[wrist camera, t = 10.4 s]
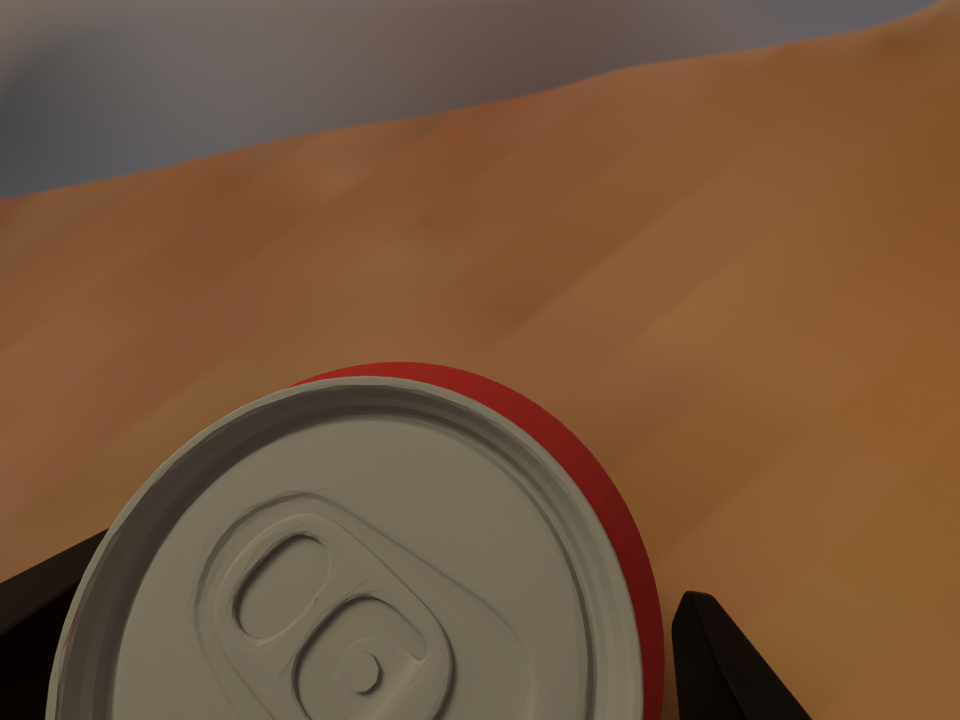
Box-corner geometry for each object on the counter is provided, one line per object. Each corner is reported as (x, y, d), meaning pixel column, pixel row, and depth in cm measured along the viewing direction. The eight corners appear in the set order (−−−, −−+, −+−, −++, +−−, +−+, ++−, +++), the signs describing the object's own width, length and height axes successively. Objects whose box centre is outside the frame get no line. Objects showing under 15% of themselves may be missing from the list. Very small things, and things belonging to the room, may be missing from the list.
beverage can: (462, 741, 14) (330, 1574, 3) (304, 573, 16) (-186, 698, 5) (604, 551, 16) (881, 623, 4) (446, 414, 17) (347, 204, 6)
